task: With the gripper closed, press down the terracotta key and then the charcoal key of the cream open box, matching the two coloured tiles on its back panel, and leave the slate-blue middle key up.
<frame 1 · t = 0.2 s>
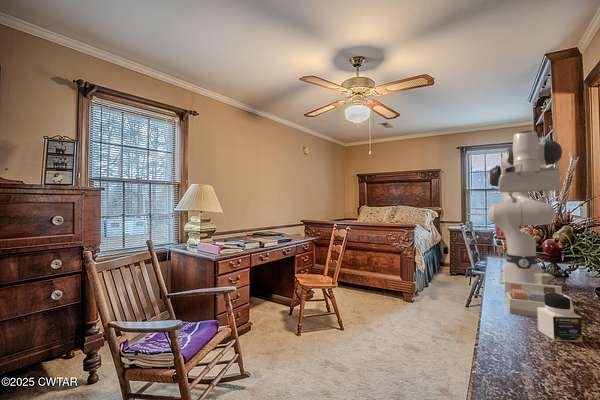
hand: (528, 202, 120), 39 cm above the countertop, tool pointing down, fingers open, 8 cm apart
skincare box: (544, 300, 118), on the countertop
medicine bottle: (559, 336, 86), on the countertop
slate key: (537, 296, 104), point 6 cm above the countertop, slide at 0.0 cm
cream open box: (537, 312, 104), on the countertop
terracotta key: (519, 294, 106), point 6 cm above the countertop, slide at 0.0 cm
charcoal key: (555, 298, 102), point 6 cm above the countertop, slide at 0.0 cm
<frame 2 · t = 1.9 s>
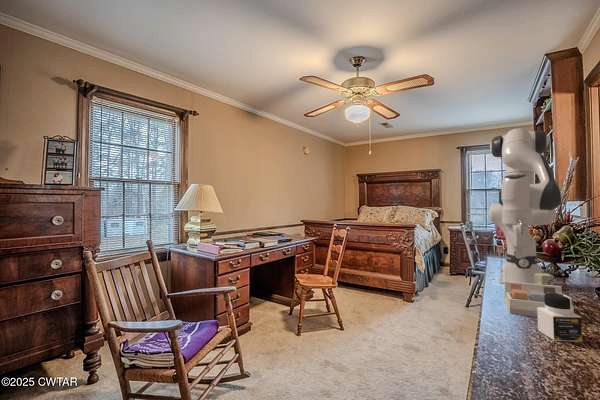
hand: (518, 257, 107), 19 cm above the countertop, tool pointing down, fingers closed
nothing on the countertop moved.
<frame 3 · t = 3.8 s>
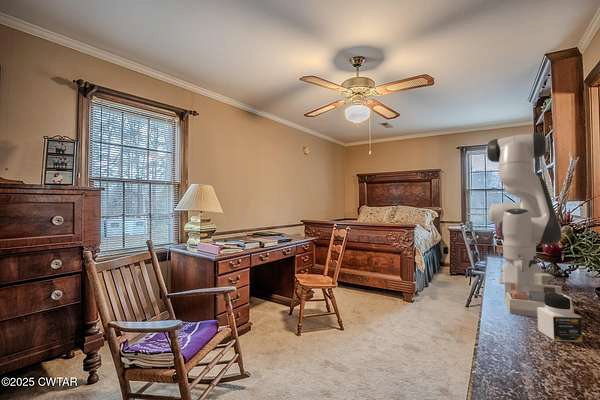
hand: (519, 292, 106), 7 cm above the countertop, tool pointing down, fingers closed, pressing on terracotta key
terracotta key: (519, 295, 106), point 5 cm above the countertop, slide at 0.5 cm, touching gripper
everything else where it was.
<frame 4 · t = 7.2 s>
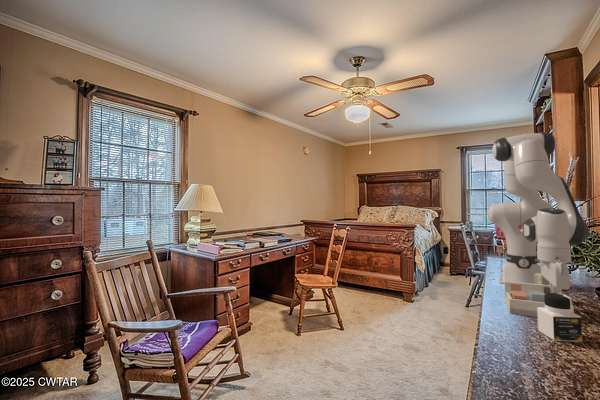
hand: (555, 296, 101), 7 cm above the countertop, tool pointing down, fingers closed, pressing on charcoal key
terracotta key: (519, 297, 106), point 5 cm above the countertop, slide at 1.1 cm
charcoal key: (555, 299, 101), point 5 cm above the countertop, slide at 0.5 cm, touching gripper
everything else where it was.
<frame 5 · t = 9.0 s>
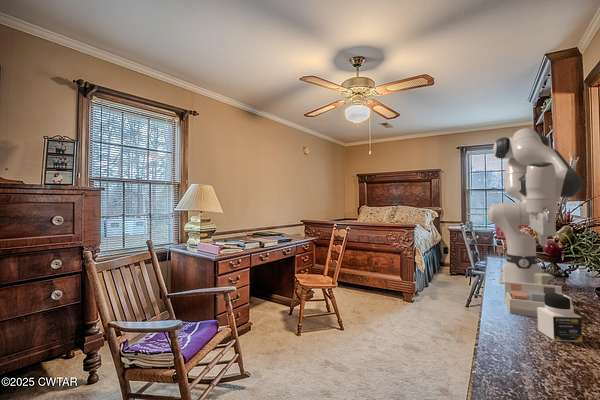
hand: (542, 245, 107), 23 cm above the countertop, tool pointing down, fingers closed
charcoal key: (555, 301, 101), point 5 cm above the countertop, slide at 1.1 cm
everything else where it was.
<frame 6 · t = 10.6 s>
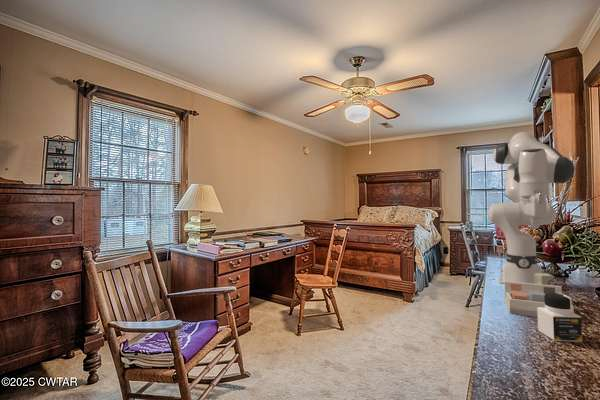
hand: (535, 228, 111), 29 cm above the countertop, tool pointing down, fingers closed
nothing on the countertop moved.
at the end: terracotta key slide at 1.1 cm; charcoal key slide at 1.1 cm; slate key slide at 0.0 cm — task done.
